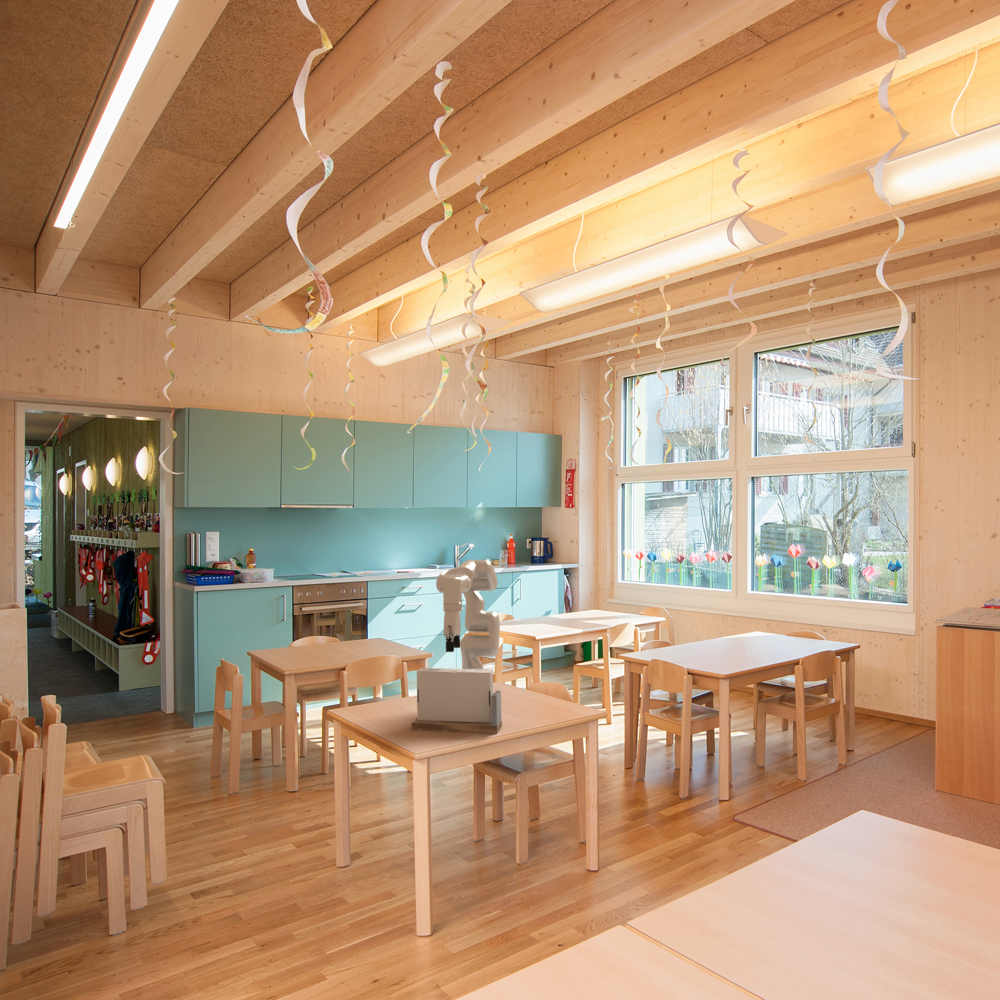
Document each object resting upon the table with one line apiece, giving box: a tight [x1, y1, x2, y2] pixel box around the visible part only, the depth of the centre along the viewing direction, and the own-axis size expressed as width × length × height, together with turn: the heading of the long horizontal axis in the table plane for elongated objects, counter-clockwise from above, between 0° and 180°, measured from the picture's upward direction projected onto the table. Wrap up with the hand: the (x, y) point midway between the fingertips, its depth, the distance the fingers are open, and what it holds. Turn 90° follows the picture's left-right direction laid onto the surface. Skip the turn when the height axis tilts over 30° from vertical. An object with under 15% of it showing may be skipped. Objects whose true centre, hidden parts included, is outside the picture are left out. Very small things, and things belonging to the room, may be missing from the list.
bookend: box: [492, 690, 502, 727], centre depth 306 cm, size 9×2×12 cm, turn 169°
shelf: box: [411, 718, 503, 734], centre depth 309 cm, size 10×35×2 cm, turn 79°
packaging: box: [416, 667, 494, 723], centre depth 313 cm, size 30×6×20 cm, turn 81°
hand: (453, 649), depth 311 cm, fingers open, 9 cm apart
